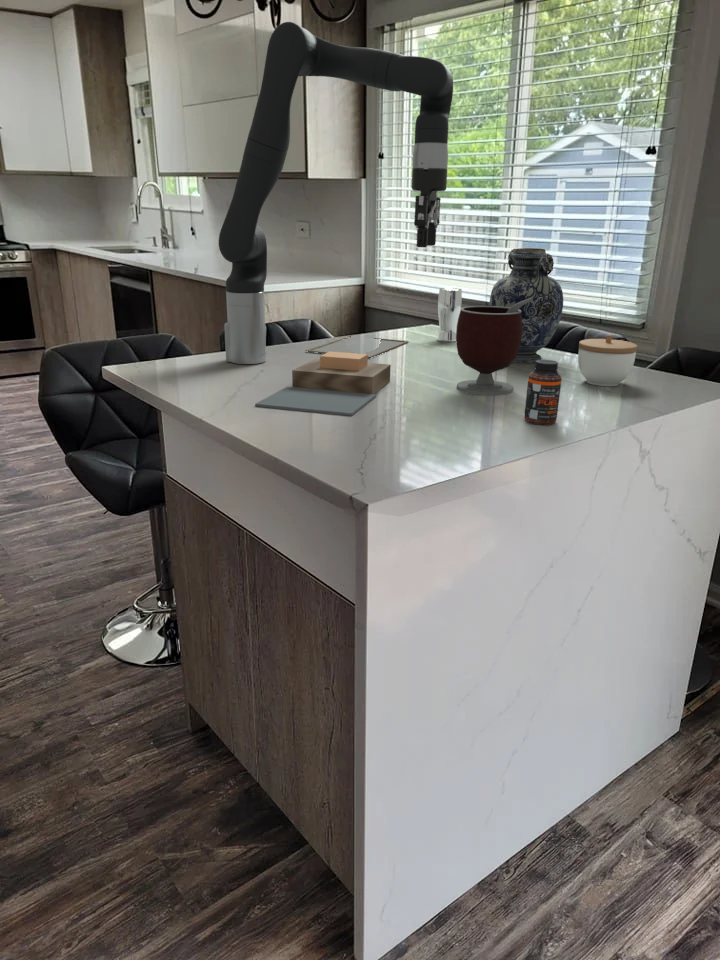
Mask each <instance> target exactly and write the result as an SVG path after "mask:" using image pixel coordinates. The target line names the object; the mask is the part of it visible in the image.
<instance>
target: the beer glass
mask: <svg viewBox="0 0 720 960" xmlns="http://www.w3.org/2000/svg"><path fill="white" fill-rule="evenodd" d="M462 293H463V291H462V288H457V287H456V288H455V287H441V288H439V291H438V299H437V313H438V324H439V329H438V335H437V341H438V342H444V343H453V342H454V343H456V330H457V322H458V318H459V314H460V311H461V310H460V309H461V308H462V301H463V300H462V298H463V297H462V295H463V294H462Z"/></svg>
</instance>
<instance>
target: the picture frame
mask: <svg viewBox="0 0 720 960" xmlns="http://www.w3.org/2000/svg"><path fill="white" fill-rule="evenodd" d="M351 336H352V335H347V336H344V337H341V338H338V339H335V340H332V341H329V342H326V343H324V344H321V345H318V346H314V347H312V348H307V349H305V351H308V352H318V353H324V354H325V353H327V352H329V351H330V352H344V353H355V352H352V351H351V350H349V349H347V348H346V347H348V346H346V343H349V342H345V341H350V340H342V339H349V338H346V337H350V338H351ZM373 338H374V339H381V340H380V342H381V343H380V344H379V347H378V348H376V349H375V350H372V351H370V352H366V354H368V358H371V357H374V356H376V357H378V356H377V355H379V356H381V355H383V354H385V352H386V353H388V352H391V351H392V350H395V349H398V348H400V347H402V346H404V345H407V344H409V343H410V342H409V340H402V339H400V340H399V339H391V338H379V337H378V338H377V337H373ZM390 350H391V351H390ZM305 351H304V352H305ZM382 353H383V354H382ZM380 354H381V355H380ZM374 358H375V357H374Z"/></svg>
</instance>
